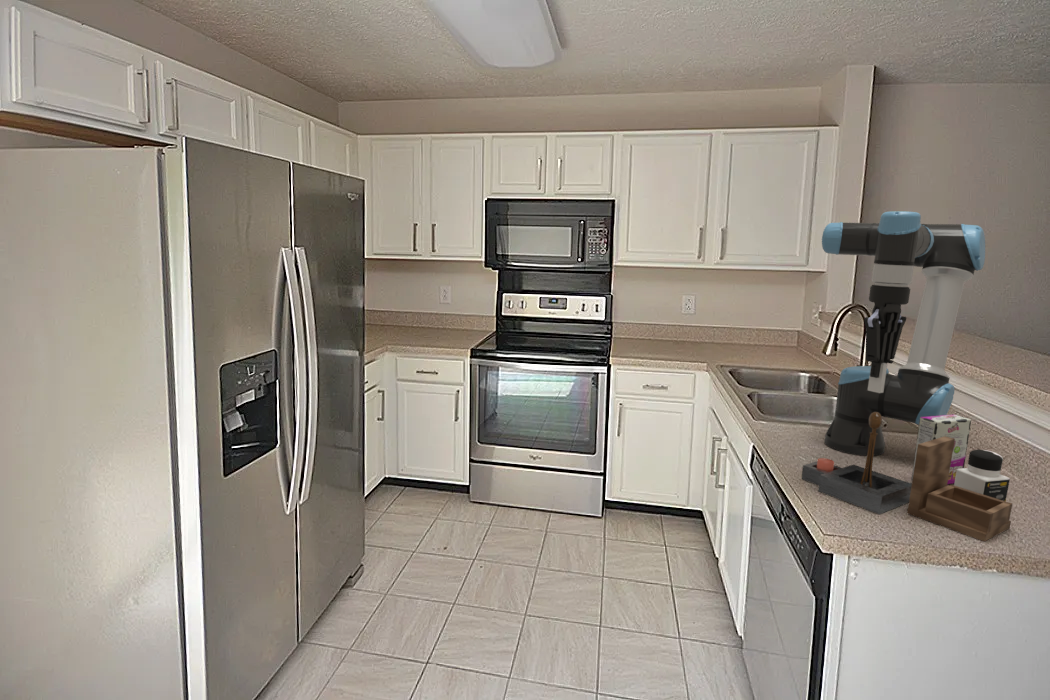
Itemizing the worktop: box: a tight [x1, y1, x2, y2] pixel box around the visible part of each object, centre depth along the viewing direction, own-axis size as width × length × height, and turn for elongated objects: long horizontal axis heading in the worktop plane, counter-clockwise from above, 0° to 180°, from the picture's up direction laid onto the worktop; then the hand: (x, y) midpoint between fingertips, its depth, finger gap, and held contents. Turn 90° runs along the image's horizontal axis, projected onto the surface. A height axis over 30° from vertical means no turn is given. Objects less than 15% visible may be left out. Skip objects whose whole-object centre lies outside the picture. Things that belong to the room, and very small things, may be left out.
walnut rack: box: [906, 436, 1013, 542], centre depth 131 cm, size 12×14×16 cm
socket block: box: [801, 460, 912, 515], centre depth 146 cm, size 14×20×4 cm
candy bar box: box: [911, 414, 972, 486], centre depth 153 cm, size 11×5×16 cm, turn 107°
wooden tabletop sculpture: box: [859, 412, 883, 489], centre depth 142 cm, size 6×5×20 cm
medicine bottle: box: [954, 449, 1010, 502], centre depth 142 cm, size 7×7×12 cm
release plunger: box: [817, 457, 835, 472], centre depth 152 cm, size 4×4×5 cm
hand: (875, 391), depth 140 cm, fingers closed
